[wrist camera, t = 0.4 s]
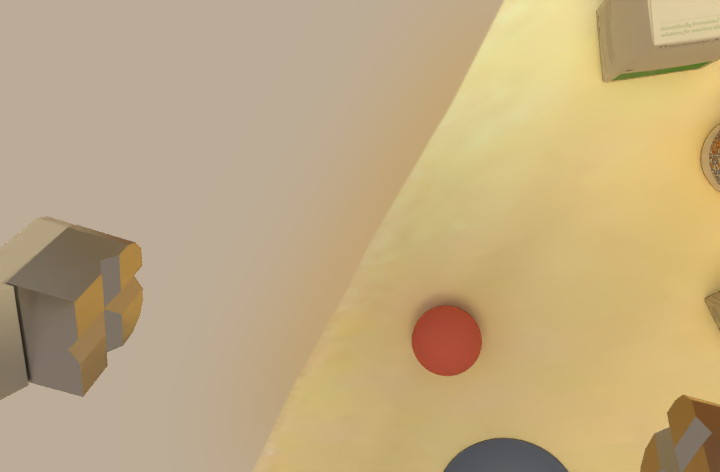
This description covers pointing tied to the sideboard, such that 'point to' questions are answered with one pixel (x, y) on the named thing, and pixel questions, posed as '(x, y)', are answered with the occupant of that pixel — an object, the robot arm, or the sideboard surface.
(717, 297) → the skincare box
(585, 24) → the sideboard surface
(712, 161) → the bath foam
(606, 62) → the skincare box
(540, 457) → the dark gray round plate
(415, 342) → the ball
